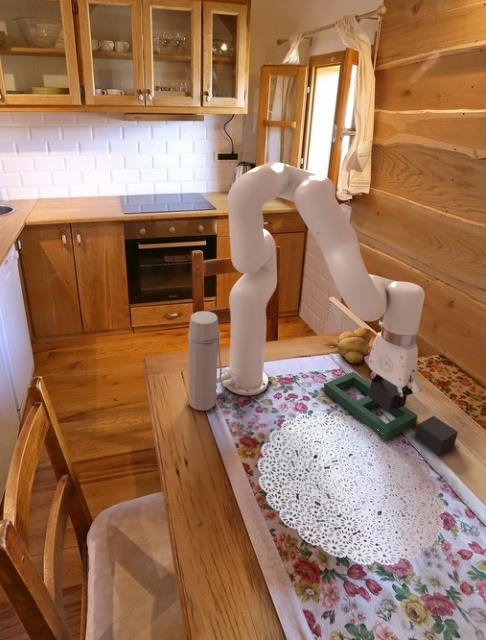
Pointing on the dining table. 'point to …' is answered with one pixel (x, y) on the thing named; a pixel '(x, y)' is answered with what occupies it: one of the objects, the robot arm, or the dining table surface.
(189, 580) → the dining table surface
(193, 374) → the water bottle
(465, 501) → the dining table surface
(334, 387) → the green rectangular frame
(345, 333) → the bread roll
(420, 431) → the pad
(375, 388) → the pad
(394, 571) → the dining table surface
